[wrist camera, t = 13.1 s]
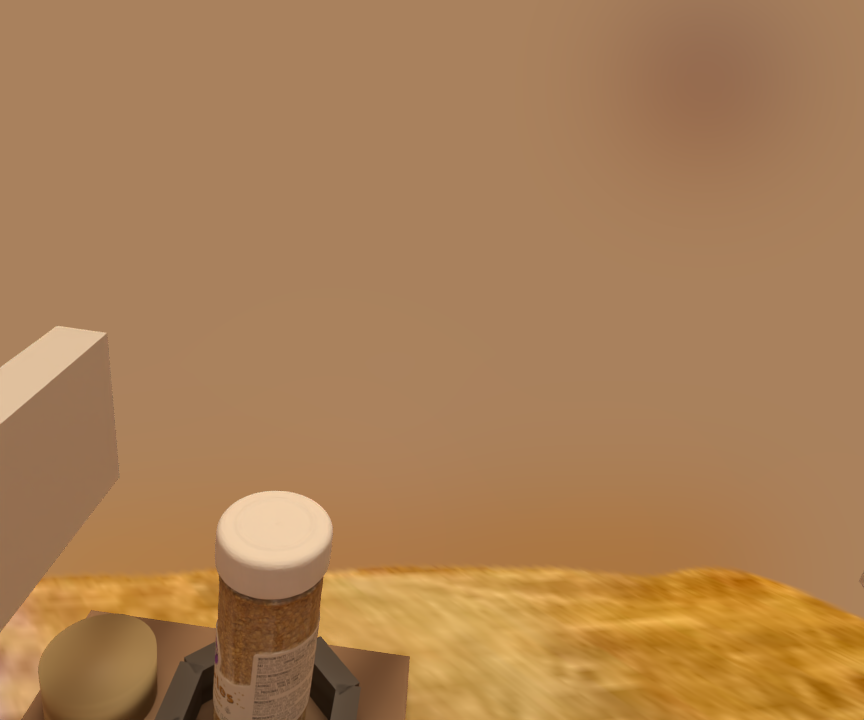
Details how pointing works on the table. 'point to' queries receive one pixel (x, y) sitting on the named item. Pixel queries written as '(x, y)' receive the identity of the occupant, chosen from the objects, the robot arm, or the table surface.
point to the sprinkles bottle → (268, 604)
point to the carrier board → (192, 675)
